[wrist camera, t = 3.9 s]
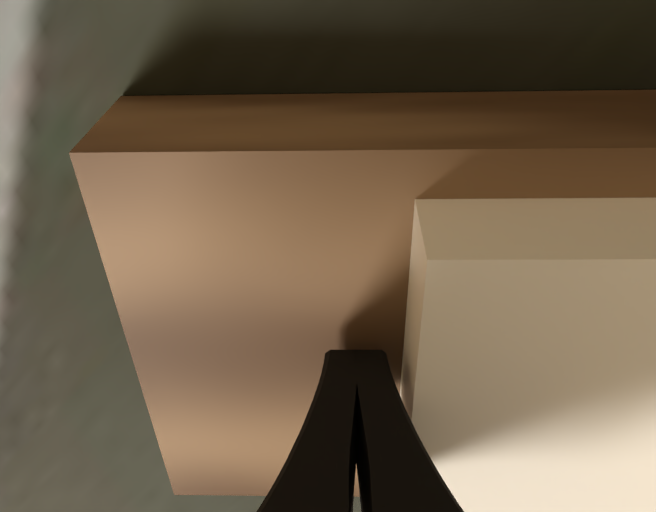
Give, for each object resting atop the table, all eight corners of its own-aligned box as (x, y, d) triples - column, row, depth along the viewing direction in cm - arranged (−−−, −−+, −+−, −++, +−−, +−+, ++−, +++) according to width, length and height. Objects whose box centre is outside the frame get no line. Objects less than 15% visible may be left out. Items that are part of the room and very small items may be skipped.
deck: (614, 415, 19) (655, 499, 16) (195, 413, 19) (174, 494, 17) (750, 88, 13) (848, 146, 10) (120, 95, 13) (69, 152, 10)
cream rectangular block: (608, 479, 16) (639, 551, 14) (393, 477, 16) (398, 548, 14) (735, 196, 11) (805, 259, 9) (415, 199, 11) (427, 259, 9)
